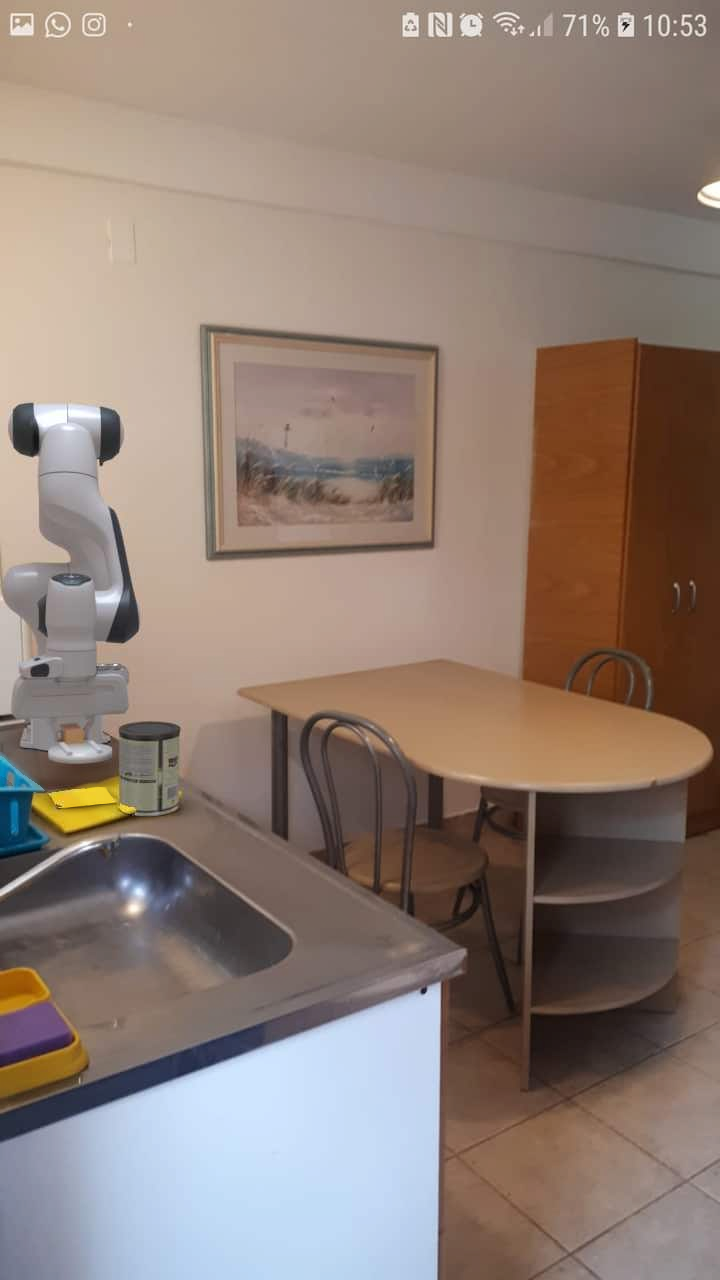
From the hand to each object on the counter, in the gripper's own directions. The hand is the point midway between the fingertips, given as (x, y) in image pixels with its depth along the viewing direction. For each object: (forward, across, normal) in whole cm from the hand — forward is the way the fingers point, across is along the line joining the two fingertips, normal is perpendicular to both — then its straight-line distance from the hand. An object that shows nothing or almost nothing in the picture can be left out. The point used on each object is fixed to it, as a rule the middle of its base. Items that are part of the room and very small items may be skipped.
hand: (71, 740), depth 172 cm
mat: (+9, -1, +7) cm, 11 cm away
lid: (+1, 0, +5) cm, 5 cm away
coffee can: (+9, -10, +16) cm, 21 cm away
